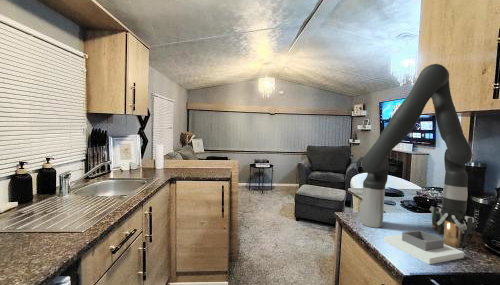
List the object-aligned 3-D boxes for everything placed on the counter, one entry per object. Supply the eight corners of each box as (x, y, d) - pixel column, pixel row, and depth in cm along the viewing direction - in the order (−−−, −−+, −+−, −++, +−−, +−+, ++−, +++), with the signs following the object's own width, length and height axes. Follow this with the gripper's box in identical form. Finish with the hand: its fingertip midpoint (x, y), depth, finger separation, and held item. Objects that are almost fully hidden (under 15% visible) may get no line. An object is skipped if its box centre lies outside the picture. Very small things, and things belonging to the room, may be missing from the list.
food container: (428, 230, 117) (430, 208, 117) (428, 226, 122) (430, 205, 122) (464, 237, 110) (466, 214, 110) (462, 233, 115) (464, 210, 115)
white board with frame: (384, 241, 103) (385, 229, 103) (415, 237, 109) (416, 225, 108) (429, 264, 86) (430, 249, 86) (463, 257, 92) (464, 243, 91)
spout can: (440, 242, 104) (442, 215, 104) (448, 241, 106) (450, 214, 105) (453, 248, 100) (455, 219, 99) (462, 246, 101) (464, 218, 101)
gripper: (429, 193, 107) (426, 232, 108) (469, 202, 94) (465, 247, 95) (442, 192, 110) (439, 230, 111) (482, 201, 96) (478, 245, 97)
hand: (451, 238), depth 103 cm, fingers open, 7 cm apart
